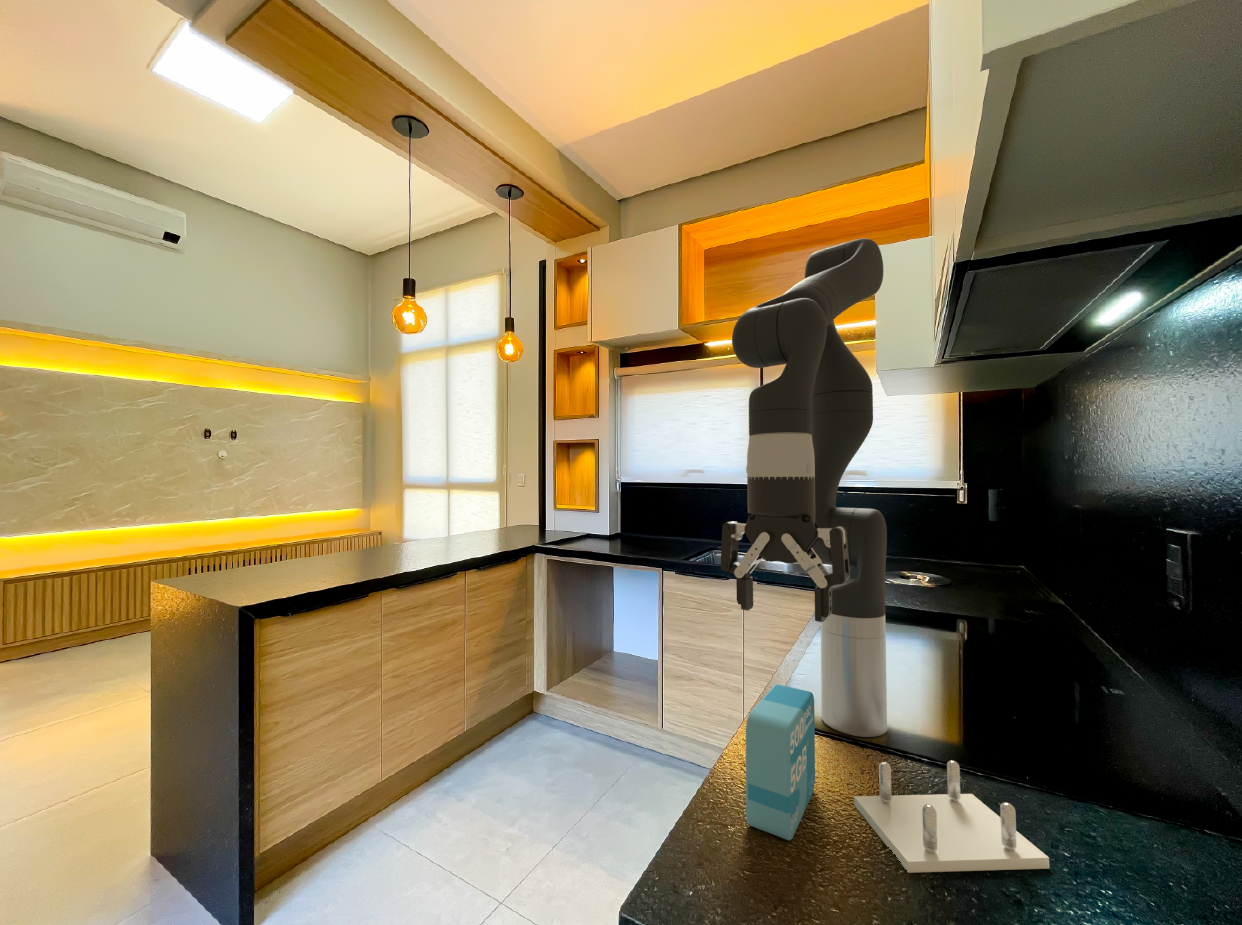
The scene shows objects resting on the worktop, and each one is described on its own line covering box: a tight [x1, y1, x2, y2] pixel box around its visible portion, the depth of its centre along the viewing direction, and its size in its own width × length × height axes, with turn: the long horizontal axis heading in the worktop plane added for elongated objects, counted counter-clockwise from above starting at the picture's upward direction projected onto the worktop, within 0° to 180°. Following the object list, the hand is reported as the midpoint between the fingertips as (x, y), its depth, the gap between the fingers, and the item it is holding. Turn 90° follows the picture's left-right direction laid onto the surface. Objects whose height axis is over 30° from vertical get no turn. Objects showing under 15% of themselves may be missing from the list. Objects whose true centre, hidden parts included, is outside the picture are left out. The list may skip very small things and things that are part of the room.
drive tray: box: [853, 793, 1050, 874], centre depth 53 cm, size 10×14×1 cm
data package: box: [745, 683, 816, 841], centre depth 57 cm, size 12×4×12 cm, turn 146°
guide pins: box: [878, 759, 1017, 853], centre depth 53 cm, size 9×9×4 cm
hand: (782, 614), depth 58 cm, fingers open, 8 cm apart
